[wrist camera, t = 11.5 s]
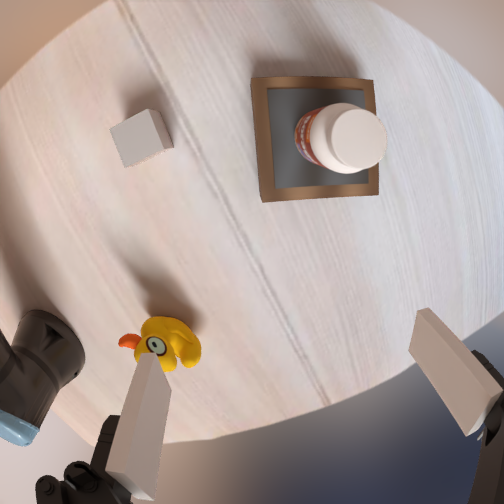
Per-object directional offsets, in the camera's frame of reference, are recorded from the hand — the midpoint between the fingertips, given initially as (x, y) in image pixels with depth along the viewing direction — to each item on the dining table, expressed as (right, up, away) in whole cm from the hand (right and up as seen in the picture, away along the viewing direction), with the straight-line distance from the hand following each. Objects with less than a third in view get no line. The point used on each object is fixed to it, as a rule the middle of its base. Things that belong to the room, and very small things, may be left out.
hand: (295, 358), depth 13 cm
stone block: (-15, +19, +20) cm, 31 cm away
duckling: (-14, -6, +30) cm, 34 cm away
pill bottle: (+5, +18, +17) cm, 25 cm away
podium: (+5, +19, +20) cm, 28 cm away
